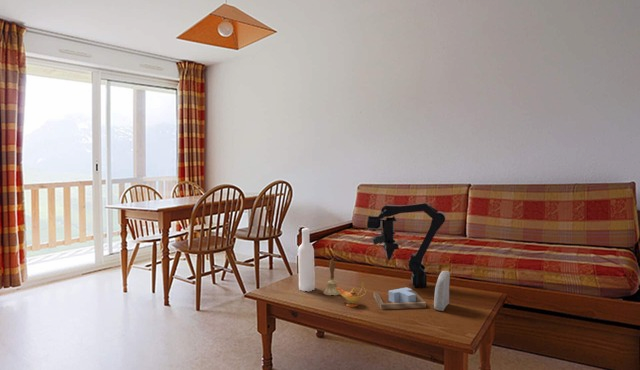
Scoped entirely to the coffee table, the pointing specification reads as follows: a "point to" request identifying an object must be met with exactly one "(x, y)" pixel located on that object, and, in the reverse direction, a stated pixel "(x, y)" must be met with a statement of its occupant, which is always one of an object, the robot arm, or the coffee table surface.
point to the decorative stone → (442, 291)
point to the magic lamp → (350, 295)
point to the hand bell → (331, 281)
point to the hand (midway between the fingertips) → (388, 260)
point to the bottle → (306, 263)
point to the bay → (418, 304)
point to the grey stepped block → (402, 295)
